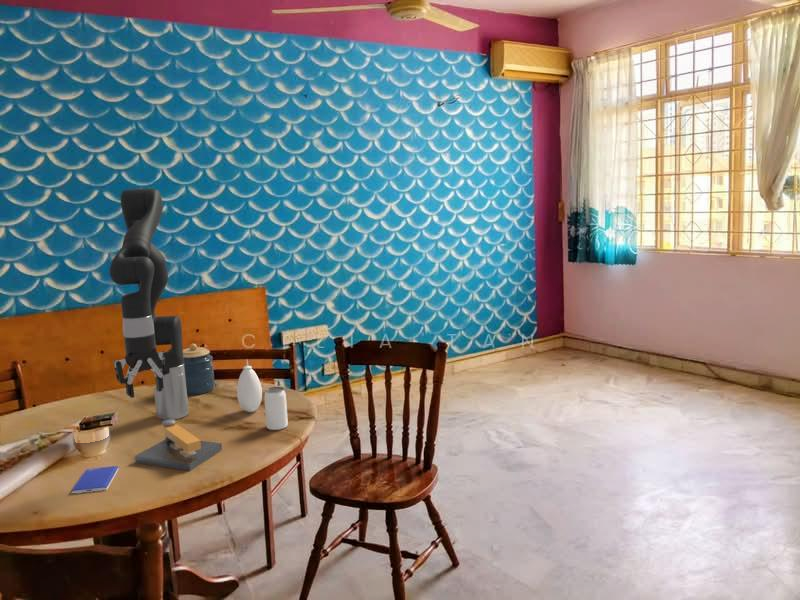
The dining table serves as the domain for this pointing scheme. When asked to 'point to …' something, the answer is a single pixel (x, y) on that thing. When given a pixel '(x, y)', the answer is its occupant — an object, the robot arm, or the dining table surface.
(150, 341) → the robot arm
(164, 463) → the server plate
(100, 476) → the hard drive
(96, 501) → the dining table surface
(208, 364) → the canister
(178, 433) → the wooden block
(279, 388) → the can
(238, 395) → the sauce bottle
